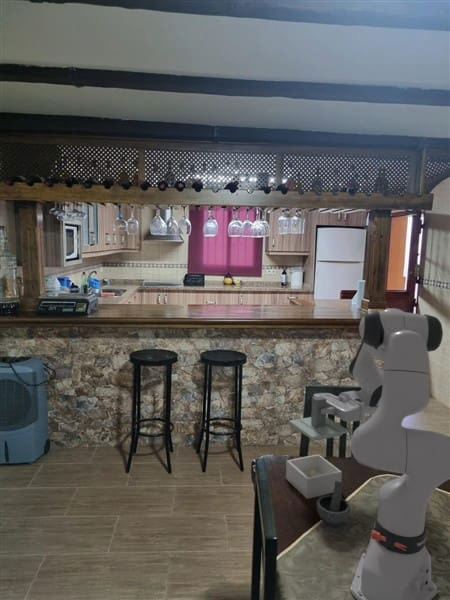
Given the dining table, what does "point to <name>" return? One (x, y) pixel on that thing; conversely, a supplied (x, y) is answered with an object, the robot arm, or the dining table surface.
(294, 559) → the dining table surface
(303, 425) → the lid
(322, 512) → the mortar and pestle
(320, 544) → the dining table surface
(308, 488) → the tub
